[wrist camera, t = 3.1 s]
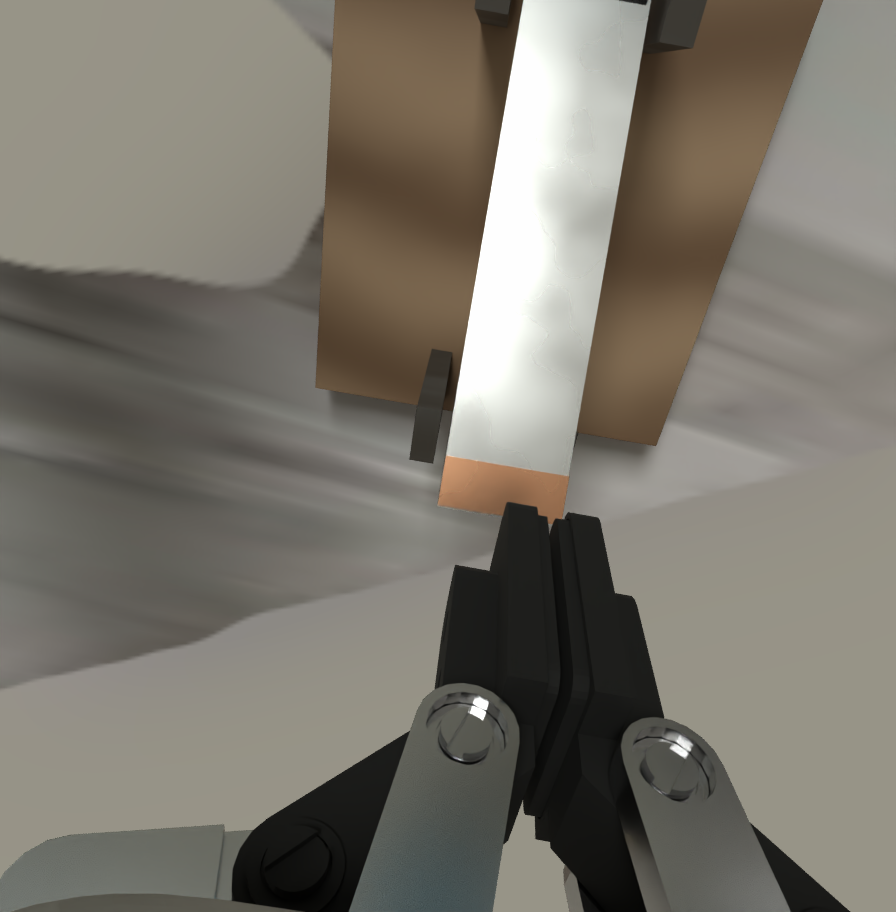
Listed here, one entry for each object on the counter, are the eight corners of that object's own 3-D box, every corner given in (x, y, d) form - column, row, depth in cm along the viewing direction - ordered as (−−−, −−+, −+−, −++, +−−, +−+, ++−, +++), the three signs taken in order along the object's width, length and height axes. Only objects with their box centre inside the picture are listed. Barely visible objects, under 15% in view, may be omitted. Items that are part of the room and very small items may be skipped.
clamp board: (356, -118, 19) (291, -203, 13) (809, -34, 20) (946, -81, 14) (326, 368, 28) (278, 450, 22) (646, 423, 28) (686, 519, 22)
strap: (529, -36, 17) (538, -87, 15) (643, -15, 17) (664, -64, 15) (437, 501, 17) (437, 507, 15) (550, 520, 17) (561, 528, 15)
